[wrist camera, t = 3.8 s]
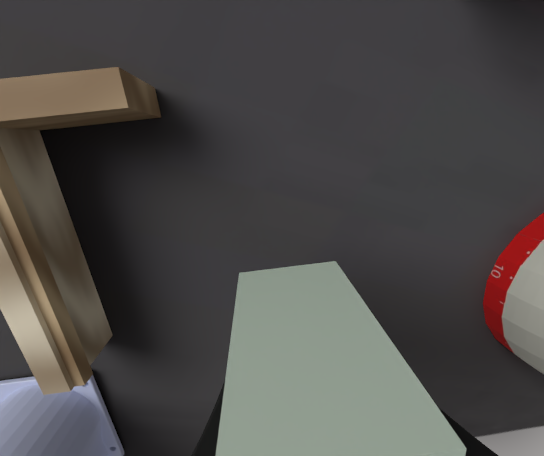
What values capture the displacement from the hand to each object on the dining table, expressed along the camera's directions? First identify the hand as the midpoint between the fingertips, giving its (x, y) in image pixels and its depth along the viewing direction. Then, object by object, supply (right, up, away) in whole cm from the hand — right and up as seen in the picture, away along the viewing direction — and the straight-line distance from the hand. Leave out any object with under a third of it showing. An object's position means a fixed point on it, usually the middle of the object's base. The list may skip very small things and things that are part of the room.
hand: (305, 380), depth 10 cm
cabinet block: (0, +1, +2) cm, 2 cm away
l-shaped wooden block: (-11, +6, +7) cm, 14 cm away
